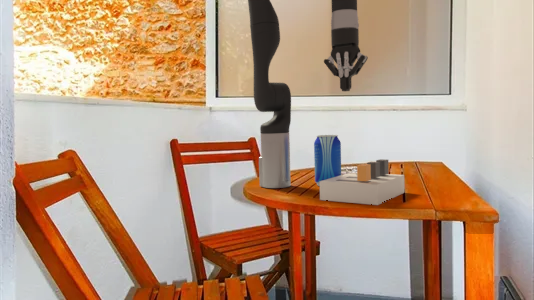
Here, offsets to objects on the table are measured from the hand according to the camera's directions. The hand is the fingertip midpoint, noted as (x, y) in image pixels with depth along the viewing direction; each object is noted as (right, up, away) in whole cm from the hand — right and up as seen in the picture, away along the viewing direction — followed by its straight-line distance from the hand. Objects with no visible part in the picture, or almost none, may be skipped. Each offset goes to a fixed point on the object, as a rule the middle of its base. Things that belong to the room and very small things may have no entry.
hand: (345, 91), depth 128 cm
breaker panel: (+4, -29, -4) cm, 30 cm away
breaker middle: (+6, -24, -6) cm, 25 cm away
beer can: (-3, -28, +18) cm, 33 cm away
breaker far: (+10, -23, -1) cm, 25 cm away
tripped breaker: (+3, -24, -11) cm, 27 cm away
